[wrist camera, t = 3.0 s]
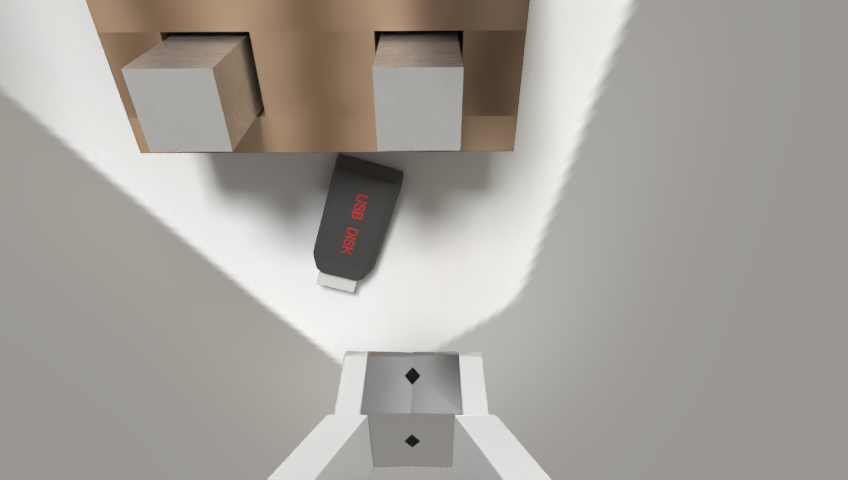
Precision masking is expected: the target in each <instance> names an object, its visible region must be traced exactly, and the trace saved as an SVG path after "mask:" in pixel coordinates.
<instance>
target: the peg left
mask: <svg viewBox="0 0 848 480" xmlns="http://www.w3.org/2000/svg"><path fill="white" fill-rule="evenodd" d="M121 70H122V73H123V76H124V79H125V82H126V85H127V87H128V90H129V93H130V96H131V99H132V102H133V105H134V108H135V110H136V113H137V116H138V119H139V122H140V125H141V128H142V131H143V133H144V136H145V139H146V142H147V145H148V148H149V151H150V152H233V150H234V149H235V147H236V146H237V144H238V143H239V142H240V140H241V139H242V137H243V136H244V134H245V133H246V131H247V130H248V128H249V127H250V125H251V124H252V122H253V121H254V119H255V118H256V116H257V115H258V113H259V112H260V110H261V109H262V107H263V106H264V105H263V100H262V95H261V90H260V85H259V80H258V74H257V69H256V64H255V59H254V54H253V49H252V44H251V38H250V33H249V32H176V33H174V34H173V35H171V36H170V37H168V38H167V39H165V40H164V41H162V42H161V43H159V44H158V45H156V46H155V47H153V48H152V49H150V50H149V51H147V52H146V53H144V54H143V55H141V56H140V57H138V58H137V59H135V60H134V61H132V62H131V63H129V64H128V65H126V66H125V67H123V68H122V69H121Z"/></svg>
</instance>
